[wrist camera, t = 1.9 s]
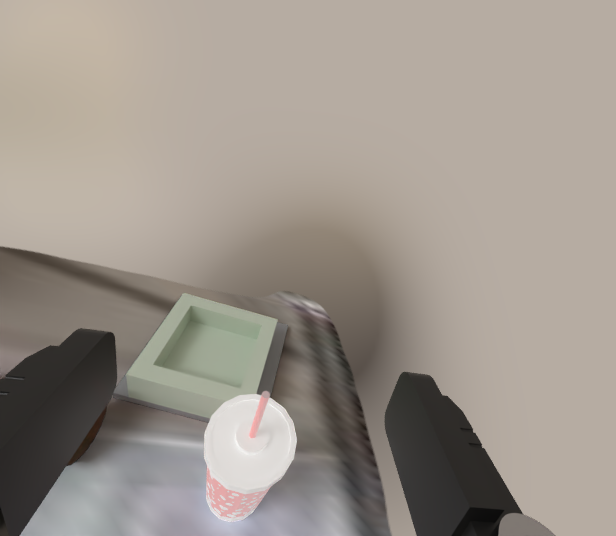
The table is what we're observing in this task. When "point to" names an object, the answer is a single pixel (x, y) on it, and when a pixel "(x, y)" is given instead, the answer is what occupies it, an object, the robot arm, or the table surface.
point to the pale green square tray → (204, 359)
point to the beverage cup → (246, 453)
